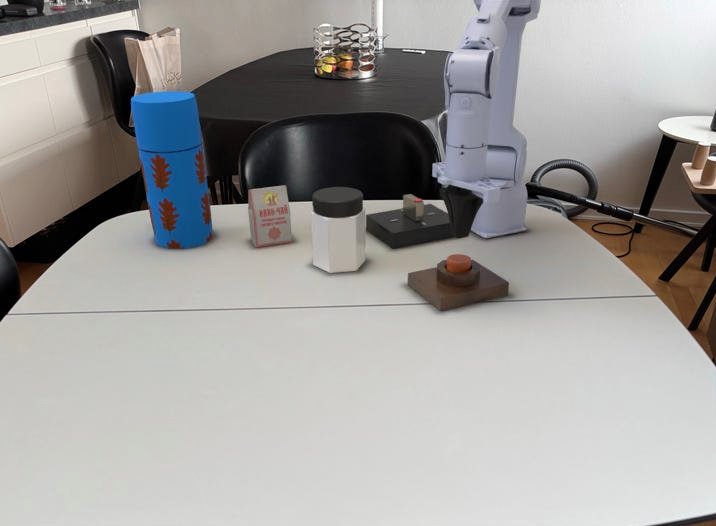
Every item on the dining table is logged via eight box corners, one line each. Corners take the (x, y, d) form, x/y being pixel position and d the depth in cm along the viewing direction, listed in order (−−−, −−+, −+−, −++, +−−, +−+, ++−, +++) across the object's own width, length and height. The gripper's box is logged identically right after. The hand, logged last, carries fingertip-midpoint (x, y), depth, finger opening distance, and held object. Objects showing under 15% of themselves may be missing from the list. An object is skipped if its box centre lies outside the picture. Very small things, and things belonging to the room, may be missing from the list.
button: (461, 262, 107) (462, 252, 106) (474, 271, 104) (475, 260, 103) (442, 267, 105) (442, 256, 104) (454, 275, 102) (455, 264, 102)
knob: (402, 213, 128) (403, 193, 126) (410, 212, 129) (410, 192, 127) (415, 222, 124) (416, 201, 122) (423, 220, 125) (424, 200, 123)
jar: (326, 251, 121) (324, 183, 115) (370, 256, 119) (370, 188, 112) (306, 270, 114) (303, 200, 108) (352, 276, 111) (351, 205, 105)
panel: (429, 218, 135) (430, 202, 133) (460, 236, 126) (461, 219, 124) (365, 229, 130) (365, 213, 128) (392, 249, 121) (393, 232, 120)
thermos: (200, 250, 122) (179, 103, 109) (144, 247, 124) (117, 102, 111) (222, 229, 131) (205, 91, 118) (170, 226, 133) (148, 90, 120)
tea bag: (251, 240, 126) (245, 187, 121) (286, 235, 128) (282, 182, 123) (256, 247, 123) (250, 193, 118) (292, 242, 125) (288, 188, 120)
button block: (471, 271, 112) (473, 248, 110) (508, 295, 105) (510, 271, 102) (407, 285, 108) (408, 262, 106) (440, 311, 100) (441, 286, 98)
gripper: (415, 135, 99) (413, 225, 106) (471, 159, 88) (464, 257, 95) (457, 130, 102) (452, 218, 109) (516, 152, 90) (506, 249, 97)
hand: (460, 236), depth 102 cm, fingers closed
